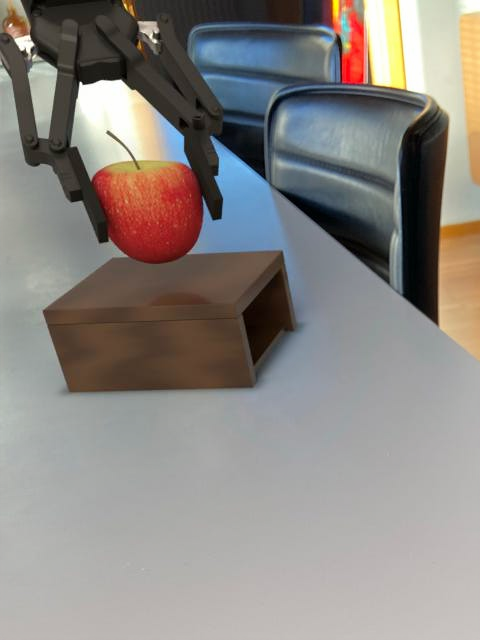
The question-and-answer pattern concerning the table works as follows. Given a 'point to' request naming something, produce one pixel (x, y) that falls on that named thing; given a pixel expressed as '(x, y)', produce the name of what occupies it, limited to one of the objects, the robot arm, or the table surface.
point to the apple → (150, 207)
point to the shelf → (172, 322)
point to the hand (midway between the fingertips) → (161, 220)
